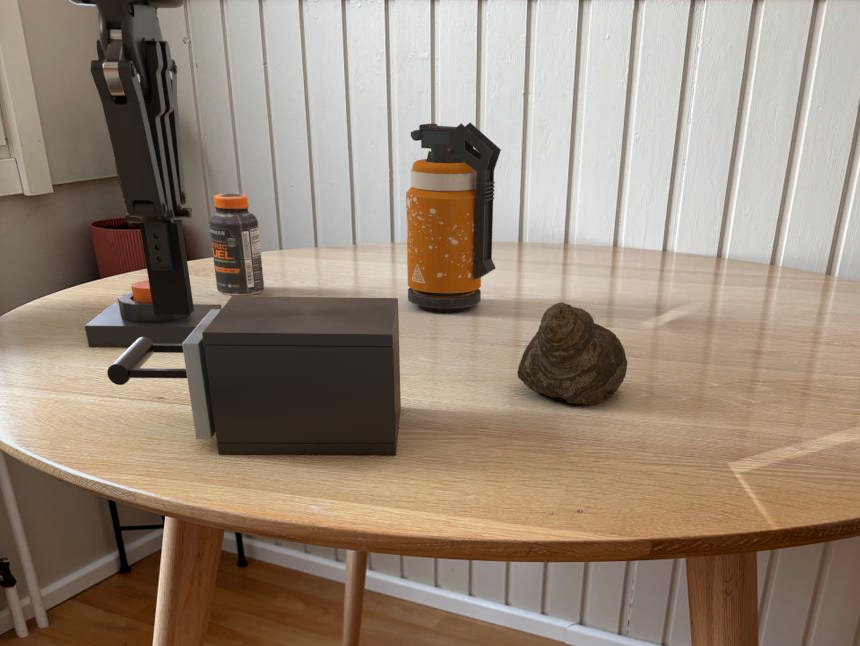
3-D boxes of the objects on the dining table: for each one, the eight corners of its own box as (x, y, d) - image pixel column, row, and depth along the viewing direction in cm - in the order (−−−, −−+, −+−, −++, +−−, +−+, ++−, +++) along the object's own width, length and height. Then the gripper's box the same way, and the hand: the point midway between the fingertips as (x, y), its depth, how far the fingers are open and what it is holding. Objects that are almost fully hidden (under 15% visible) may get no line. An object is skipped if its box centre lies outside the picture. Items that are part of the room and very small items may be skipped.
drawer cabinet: (218, 454, 73) (201, 332, 68) (244, 405, 83) (231, 295, 78) (396, 455, 73) (392, 334, 68) (400, 406, 83) (398, 297, 78)
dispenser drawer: (113, 439, 72) (94, 342, 69) (149, 396, 81) (134, 308, 77) (358, 440, 73) (354, 345, 69) (367, 397, 82) (363, 310, 78)
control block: (88, 347, 97) (80, 307, 95) (116, 323, 106) (109, 286, 104) (205, 348, 98) (200, 309, 96) (223, 324, 106) (219, 287, 104)
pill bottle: (207, 291, 120) (194, 194, 114) (242, 284, 124) (231, 190, 118) (240, 298, 117) (228, 199, 111) (274, 290, 121) (265, 194, 115)
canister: (429, 294, 121) (428, 117, 110) (507, 304, 117) (514, 122, 106) (394, 308, 114) (389, 121, 104) (475, 319, 110) (479, 127, 100)
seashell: (472, 323, 84) (538, 348, 77) (563, 239, 86) (636, 255, 79) (524, 415, 92) (588, 445, 85) (606, 336, 94) (676, 359, 86)
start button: (129, 305, 98) (126, 288, 97) (139, 296, 101) (136, 279, 100) (168, 306, 98) (165, 288, 97) (177, 297, 102) (174, 280, 101)
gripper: (149, -78, 55) (205, 334, 67) (197, -57, 66) (238, 294, 78) (18, -81, 54) (99, 333, 67) (89, -59, 65) (147, 293, 78)
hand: (174, 312), depth 73 cm, fingers closed
